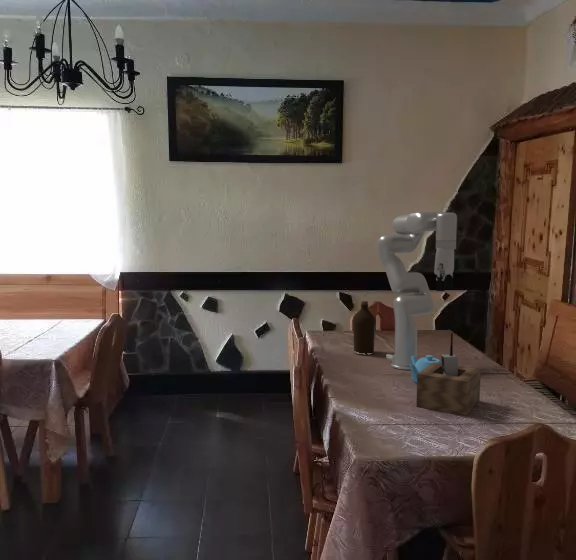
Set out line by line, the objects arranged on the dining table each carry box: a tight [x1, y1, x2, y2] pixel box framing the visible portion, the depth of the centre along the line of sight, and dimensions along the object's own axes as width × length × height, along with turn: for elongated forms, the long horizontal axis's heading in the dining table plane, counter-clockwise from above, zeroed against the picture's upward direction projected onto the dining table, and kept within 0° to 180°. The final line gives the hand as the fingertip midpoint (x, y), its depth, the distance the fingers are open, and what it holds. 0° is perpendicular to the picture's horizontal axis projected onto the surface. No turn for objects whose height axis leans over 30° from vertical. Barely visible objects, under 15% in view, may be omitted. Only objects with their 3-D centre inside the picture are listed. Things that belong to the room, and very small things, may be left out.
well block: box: [416, 362, 482, 417], centre depth 214 cm, size 18×18×12 cm
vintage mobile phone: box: [440, 332, 459, 376], centre depth 213 cm, size 4×5×25 cm
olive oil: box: [352, 300, 377, 354], centre depth 284 cm, size 11×11×25 cm
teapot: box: [410, 354, 442, 384], centre depth 240 cm, size 15×15×11 cm
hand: (444, 289), depth 231 cm, fingers open, 9 cm apart
